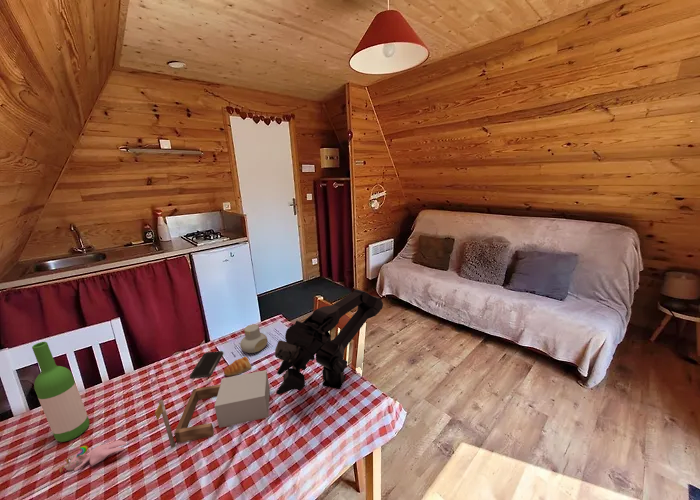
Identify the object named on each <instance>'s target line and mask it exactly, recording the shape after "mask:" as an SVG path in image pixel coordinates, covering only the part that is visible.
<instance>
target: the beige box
mask: <svg viewBox="0 0 700 500" xmlns="http://www.w3.org/2000/svg"><path fill="white" fill-rule="evenodd" d="M269 382H270V381H269V376H268V371H267V369H265V370H260V371H255V372H249V373H243V374H239V375H233V376H226V377H224V378H222V379H221V382H220V384H221V385H220V384H219V385H220V388H219V392H218V395H217V396H216V400H215V403H214V410H215V414H216V419H217V425H218V427H219V429H220V428H225V427H230V426H234V425H240V424H244V423H248V422H252V421H257V420H261V419H266V418H269V411H270V410H269V409H270V392H271V391H270V383H269Z"/></svg>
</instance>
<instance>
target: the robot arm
mask: <svg viewBox="0 0 700 500" xmlns="http://www.w3.org/2000/svg"><path fill="white" fill-rule="evenodd" d="M355 308H357V310H356V311H355V313H354V314H353V315H352V316H351V318H350V319H349V320H348V321H347V322H346V323H345V325H344V326H343V327H342V328H341V330H340V331H339V332H338V333H337V335H336V336H334V338H332V335H331V333H330V331H333V329H334V328H335V327H336V326H337V325H338V324H339V321H340V319H341V318H342V317H344V316H345V315H346V314H348V313H349V312H351V311H352V310H354V309H355ZM383 308H384V303H383V300H382V298H381V297H379V296H374V295H371V294H370V293H369V292H367V291H365V290H361V289H358V288H357V289H354V290H353V291H352V292H351V293H349V294H348V295H345V296H344V297H343V298H342V299H339V300H338V301H336V302H335V303H334V304H332V305H324V306H322V307H318V308H317V309H315V310H313V312H312V313H311V314H310V315H309V316H308V317H307V318H306V319H305V320H303V321H302V322H301V321H300V320H296V321H295V323H294V324H292V325H290V326H289V327H288V328H287V329H286V331H285V333H284V335H285V336H284V337H285V339H284V340H278V341H277V344H276V346H275V349H274V351H275V352H274V357H275V358H277V359H279V360H281V361H282V362H281V364H280V365H279V368H278V370H277V372H276V375H280V376H281V375H282V374H283V377H282V378H283V380H282V382H281V383H280V385H279V387H278V389H277V390H276V392H275V394H276V395H278V396H279V395H282V394H285V393H288V392H290V391H294V390H297V391H299V392H301V391H302V390H303V389H304V388H305V387H306V378H305V374H303V373H302V372H301V370H302V371H306V369H307V365H308V363H309V362H310V361H312V362H313V361H314V360H315V361H316V363H317V364H318V365H320V366H322V380H323V382H322V387H326V388H327V387H328V388H332V389H337V390H340V389H341V388H342V387H343V384H344V382H345V381H346V377H347V375H345V370H346V368H347V367H348V360H345V359H344V358H345V349H346V348H347V347H348V345H349V344H350V343H351V341H352V340H353V339H354V337H356V334H358V333H359V332H360V330H361V329H362V327H363V326H364V324H365V323H366V322H367V321H368V320H369V319H372V318H374V317H375V316H377V315H378V314H379V313H380V312H381V310H382V309H383ZM331 338H332V339H331Z"/></svg>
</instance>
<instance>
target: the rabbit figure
mask: <svg viewBox="0 0 700 500" xmlns="http://www.w3.org/2000/svg"><path fill="white" fill-rule="evenodd" d="M122 446H127V442H126V441H124V440H122V439H120V440H119V439H118V440H114V441H112V442H110V443H106V444H100V445H97V446H96V447H95V448H93V449H92V448H90V447H88V445H82V446H80V447H79V449H80V450H79V451H78V452H77V453H76V454H74V455H73V456H69V457H68V458H64V459H65V462H66V464H64V465H61V467H60V466H58V470H59V472H60V474H61V473H63V472H64V471H63V470H64V469H66V470H67V471H69V472H70V471H77V470H79V469H80V468H81V467H82V466H84V465H85V464H87V463H88V462H89V464H90V465H91V466H95V465H97V464H99V463H100V462H102V461H104V460H105V459H106V458H107V457H108V456H109V455H111V454H113V453H116V452H119V451H123V450H124V449H125V448H124V447H122ZM87 452H88V454H86V453H87ZM85 454H86V455H85ZM63 468H64V469H63Z"/></svg>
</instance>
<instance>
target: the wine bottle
mask: <svg viewBox="0 0 700 500" xmlns="http://www.w3.org/2000/svg"><path fill="white" fill-rule="evenodd" d="M31 349H32V351H33V354H34V356H35V359H36V362H37V364H38V366H39V370H40V373H39V374H37V376H36V378H35V379H34V383H33V384H34V385H33V389H34V391H35V393H36V395H37V399H38V401H39V403H40V406H41V409H42V411H43V415H44V416H45V418H46V421H47V423H48V425H49V427H50V429H51V433H52V435H53V437H54V439H55V441H58V442H61V443H63V442H65V443H66V442H68V441H72V440H74V439H76V438H78V437H80V436H81V435H82V434H83V433H84V432H85V431H86V430H87V429H88V428H89V425H90V419H89V416H88V413H87V410H86V408H85V405H84V402H83V400H82V396H81V394H80V392H79V389H78V386H77V383H76V381H75V379H74V376H73V373H72V371H71V370H70V369H69V368H67V367H65V366H61V365H57V364H56V361H55V359H54V357H53V354H52V352H51V349H50V346H49V344H48V342H46V341H41V342H37V343H35V344H33V346H31Z"/></svg>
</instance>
